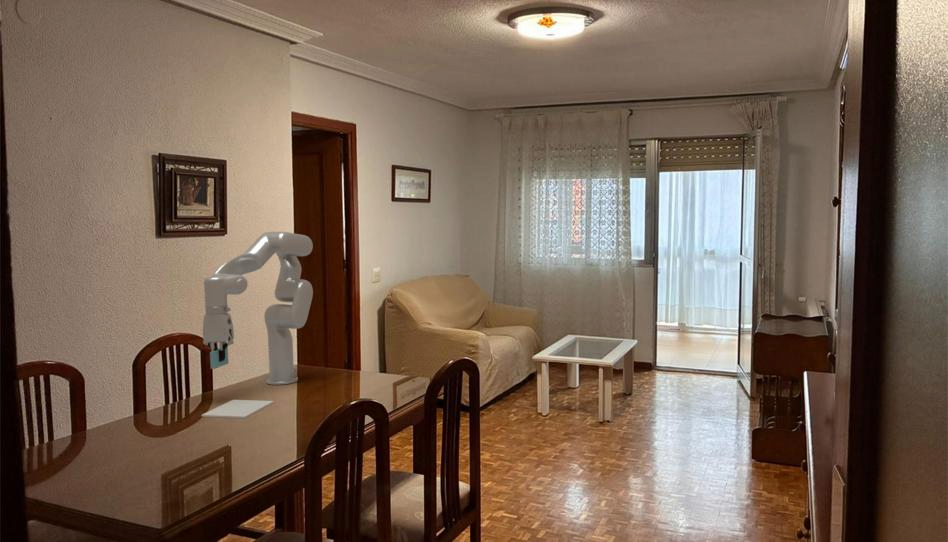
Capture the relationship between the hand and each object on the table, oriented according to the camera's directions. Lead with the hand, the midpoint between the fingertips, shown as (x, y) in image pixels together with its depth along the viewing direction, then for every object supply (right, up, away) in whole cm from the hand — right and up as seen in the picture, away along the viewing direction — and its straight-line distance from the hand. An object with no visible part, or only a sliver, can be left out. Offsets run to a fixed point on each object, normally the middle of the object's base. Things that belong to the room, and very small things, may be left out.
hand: (219, 360), depth 256 cm
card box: (0, -2, 0) cm, 2 cm away
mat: (+11, -16, -11) cm, 22 cm away
